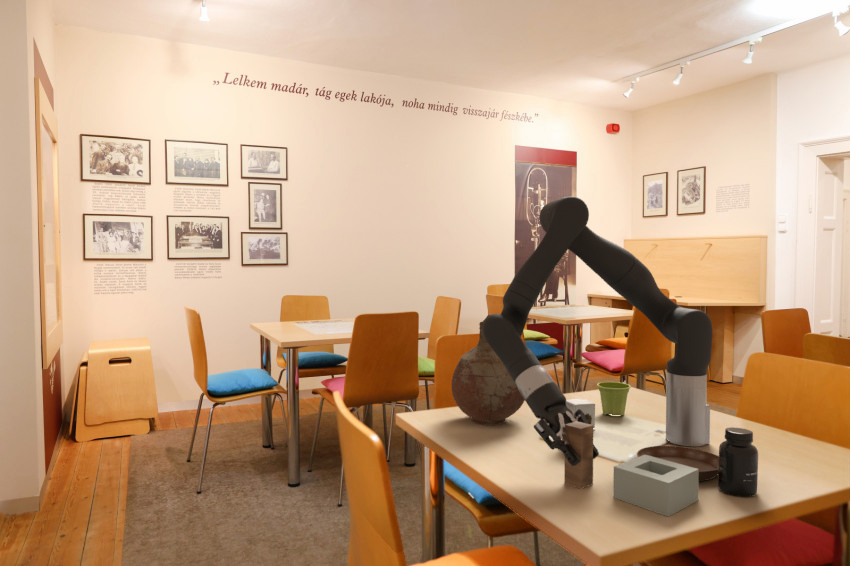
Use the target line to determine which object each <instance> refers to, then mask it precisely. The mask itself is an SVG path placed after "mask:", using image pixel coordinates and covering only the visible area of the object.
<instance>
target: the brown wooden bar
mask: <svg viewBox="0 0 850 566" xmlns="http://www.w3.org/2000/svg"><path fill="white" fill-rule="evenodd" d="M565 428H566V430H567V439H568V442H569V444H571V446H572V447H573V449H574V450H575V452H576V453H577V455H578V456H579V458H580V462H579V463H578V464H577V465H575V466H572V465H571V464H570V463H569V462H568V460H567V459H566V457H565V456H564V484H566V485H568V486H573V487H574V486H575V488H578V489H580V488H582V489H583V487H584V488H586V486H587V487H589V486H591V484H592V485H593V484H594V459H593V444H594V430H593V425H590V424H586V423H582V422H578V421H576V422H572V423H569V424H565ZM569 444H568V445H569ZM588 485H589V486H588Z"/></svg>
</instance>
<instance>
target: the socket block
mask: <svg viewBox="0 0 850 566" xmlns="http://www.w3.org/2000/svg"><path fill="white" fill-rule="evenodd" d="M698 480H699V469H697V468H693V467H689V466H685V465H682V464H678V463H674V462H671V461H667V460H663V459H660V458H656V457H652V456H648V455H642V456H640V457H638V456H637V457H635V458H631V459H629V460H627V461H625V462H622V463H620V464H617V465H614V466H613V485H612V487H613V490H612V491H613V492H612V493H613V496H612V497H613V498H614V499H615V500H619V501H622V502H625V503H629V504H631V505H634V506H636V507H640V508H643V509H646V510H648V511H650V512H651V511H652V512H655V513H657V514H659V515H663V516H664V517H665V516H666V517H670V516H672V515H674V514H676V513H677V512H680V511H681V510H684V509H685V508H687V507H689V506H691V505H693V504H694V503H696V502H698V501H699V481H698Z"/></svg>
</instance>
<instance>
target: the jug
mask: <svg viewBox="0 0 850 566" xmlns="http://www.w3.org/2000/svg"><path fill="white" fill-rule="evenodd" d="M490 315H491V314H488V315H487V316H486V317H485V318H484V319H483V320H482V321H480V322H479V323H478V325H479V328H478V329H479V333H478V334H479V335H478V336H479V339H478V343H477V345H475V347H473V348H470V349H469V351H467V352H466V353H464V354H462V355H461V357H460V359H459V361H458V362H457V364H456V366H455V368H454V371H453V374H452V378H451V392H452V396H453V399H454V401H455V404H456V406H457V407H458V408H459V409H460V411H461V412H462V413H463V414H465V415H466V416H468V417H469V418H471V421H472V422H473V423H475V424H477V425H483V426H497V425H498V426H499V425H502V424H505V422H506V419H508V418H510V417H511V416H513V415H514V414H515V413H516V412H518V411H519V409H521V407H522V406H523V404H524V403H525V402H526V401H525V400H524V398H523V396H522V395H521V393H520V392H519V390H518V387H517V385H516V384H515V382H514V380H513V379H512V377H511V376H510V374H509V373H508V371H507V369H506V367H505V366H504V364H503V362H502V361H501V360H500V358H499V357H498V356H497V355H496V353H495V352H494V351H493V349H492V348H491V347H490V345H489V344H488V343H487V341H486V340H485V338H484V336H483V333H482V325H483V322H484V320H485V319H486V318H487V317H488V316H490Z"/></svg>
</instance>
